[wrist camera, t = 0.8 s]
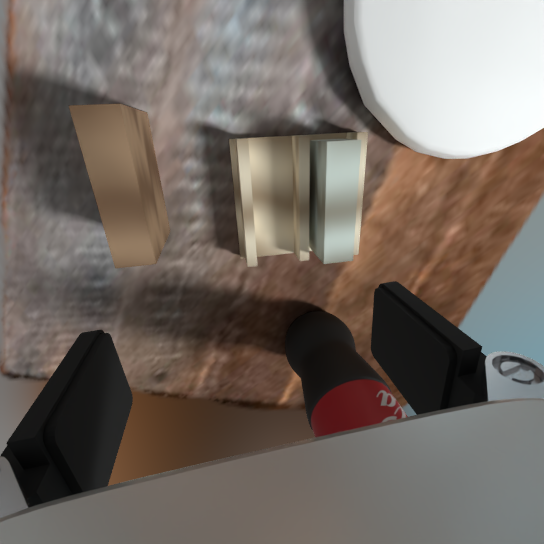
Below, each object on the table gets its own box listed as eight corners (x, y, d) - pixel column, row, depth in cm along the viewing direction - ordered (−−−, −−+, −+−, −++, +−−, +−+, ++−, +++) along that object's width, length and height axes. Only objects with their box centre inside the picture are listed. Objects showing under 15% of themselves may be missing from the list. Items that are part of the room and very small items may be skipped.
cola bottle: (326, 362, 43) (515, 741, 16) (271, 351, 41) (387, 779, 14) (352, 312, 40) (634, 671, 13) (295, 297, 38) (500, 702, 11)
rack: (228, 138, 29) (232, 140, 24) (356, 132, 31) (387, 131, 26) (240, 255, 34) (245, 277, 29) (349, 243, 36) (373, 262, 31)
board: (111, 114, 27) (68, 105, 19) (147, 112, 27) (119, 103, 19) (140, 233, 31) (115, 268, 23) (170, 231, 32) (156, 264, 24)
